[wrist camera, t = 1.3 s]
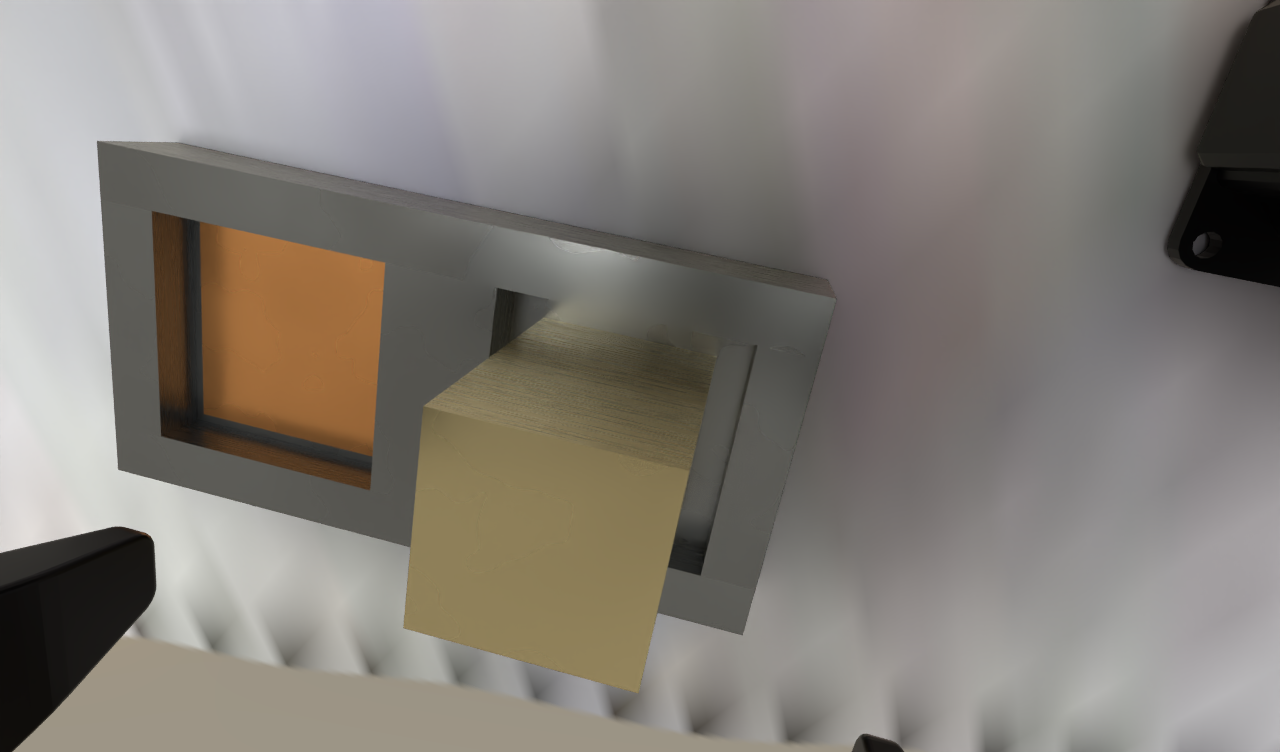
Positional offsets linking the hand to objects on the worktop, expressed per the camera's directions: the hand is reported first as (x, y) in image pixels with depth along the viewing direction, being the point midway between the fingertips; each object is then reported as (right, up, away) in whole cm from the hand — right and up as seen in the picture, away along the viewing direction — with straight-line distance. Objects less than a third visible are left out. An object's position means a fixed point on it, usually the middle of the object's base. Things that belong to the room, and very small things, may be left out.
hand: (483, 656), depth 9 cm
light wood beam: (+1, +2, +8) cm, 8 cm away
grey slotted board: (-2, +4, +9) cm, 10 cm away
